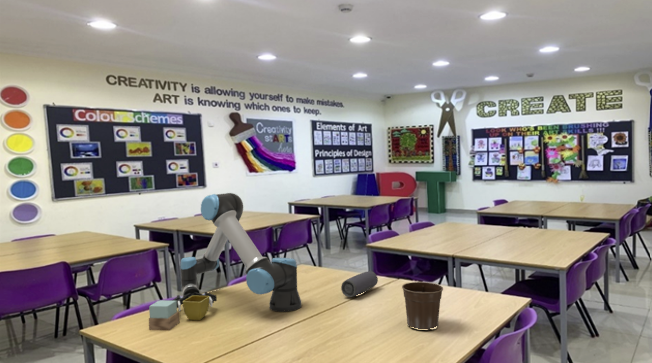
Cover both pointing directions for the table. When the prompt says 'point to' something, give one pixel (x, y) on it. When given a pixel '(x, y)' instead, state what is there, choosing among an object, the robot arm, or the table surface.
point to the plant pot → (422, 304)
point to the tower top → (163, 309)
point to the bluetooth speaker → (359, 283)
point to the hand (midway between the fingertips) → (195, 305)
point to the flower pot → (196, 307)
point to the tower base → (164, 322)
